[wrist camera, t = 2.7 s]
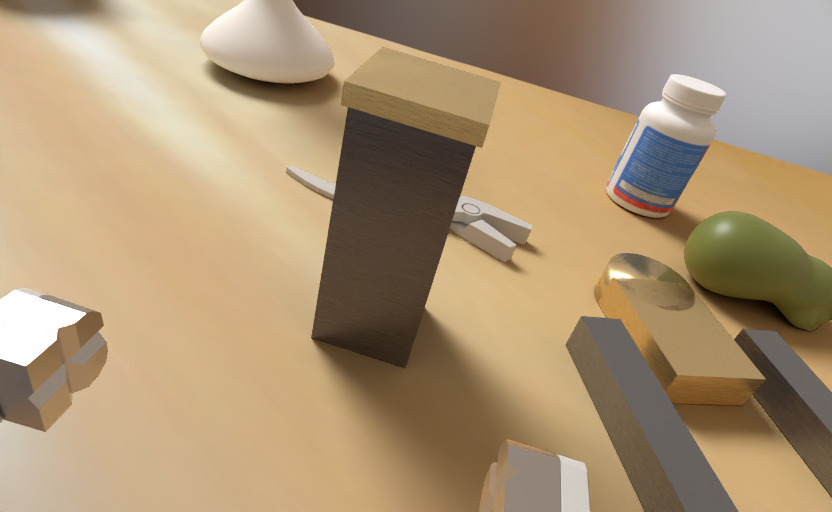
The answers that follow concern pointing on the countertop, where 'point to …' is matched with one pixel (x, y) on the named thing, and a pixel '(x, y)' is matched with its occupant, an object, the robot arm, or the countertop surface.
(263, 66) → the flower in vase
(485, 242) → the pliers
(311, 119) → the countertop surface
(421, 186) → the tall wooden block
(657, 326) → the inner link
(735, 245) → the pear
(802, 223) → the countertop surface
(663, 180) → the pill bottle
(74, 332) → the robot arm
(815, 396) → the grey metal bars
